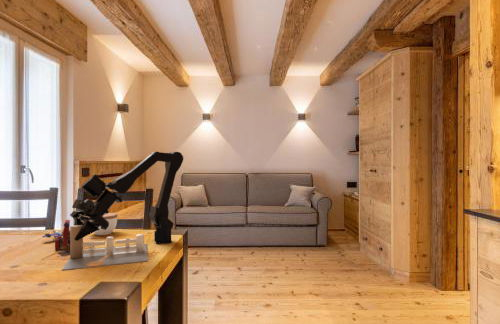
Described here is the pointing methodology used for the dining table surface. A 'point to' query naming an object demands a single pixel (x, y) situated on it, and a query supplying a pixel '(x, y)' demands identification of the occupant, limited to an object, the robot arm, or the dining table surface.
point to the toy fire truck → (63, 237)
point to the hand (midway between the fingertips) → (72, 239)
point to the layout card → (107, 258)
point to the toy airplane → (53, 234)
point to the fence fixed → (138, 246)
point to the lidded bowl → (112, 224)
